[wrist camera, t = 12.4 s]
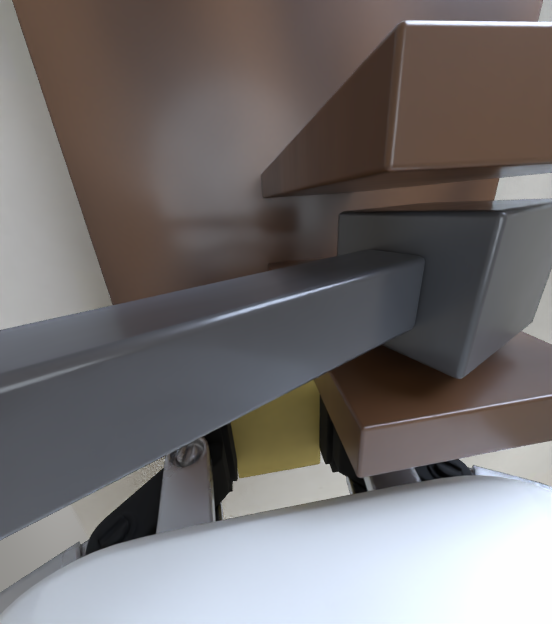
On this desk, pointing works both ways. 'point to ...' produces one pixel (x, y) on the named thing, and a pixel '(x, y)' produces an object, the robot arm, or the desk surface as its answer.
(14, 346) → the lever
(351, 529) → the robot arm
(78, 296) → the desk surface
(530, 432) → the slicer
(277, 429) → the butter
